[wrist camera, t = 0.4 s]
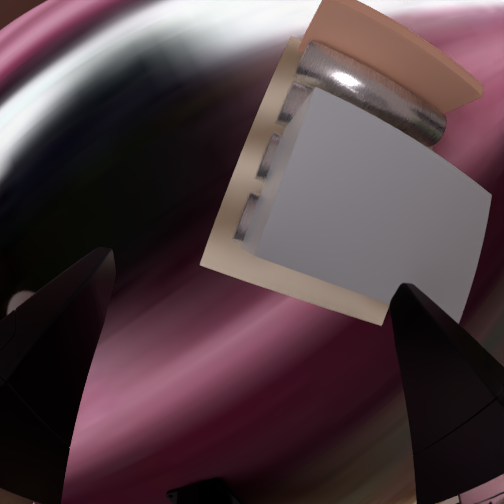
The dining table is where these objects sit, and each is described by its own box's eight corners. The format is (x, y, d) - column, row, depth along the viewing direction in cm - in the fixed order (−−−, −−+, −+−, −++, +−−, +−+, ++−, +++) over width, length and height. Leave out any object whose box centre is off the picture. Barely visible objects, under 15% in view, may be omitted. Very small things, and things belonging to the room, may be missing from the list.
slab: (398, 304, 21) (457, 328, 14) (240, 247, 19) (254, 256, 13) (429, 202, 20) (491, 194, 14) (284, 129, 19) (315, 86, 12)
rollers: (378, 294, 25) (401, 302, 21) (230, 240, 23) (233, 241, 19) (425, 119, 24) (448, 108, 21) (302, 53, 23) (314, 31, 19)
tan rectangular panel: (429, 121, 24) (483, 96, 17) (297, 50, 22) (325, -4, 15) (430, 111, 24) (483, 85, 17) (300, 41, 22) (328, -13, 15)
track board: (375, 322, 26) (381, 325, 25) (200, 263, 24) (199, 265, 23) (431, 118, 26) (438, 115, 24) (287, 43, 24) (290, 36, 22)
